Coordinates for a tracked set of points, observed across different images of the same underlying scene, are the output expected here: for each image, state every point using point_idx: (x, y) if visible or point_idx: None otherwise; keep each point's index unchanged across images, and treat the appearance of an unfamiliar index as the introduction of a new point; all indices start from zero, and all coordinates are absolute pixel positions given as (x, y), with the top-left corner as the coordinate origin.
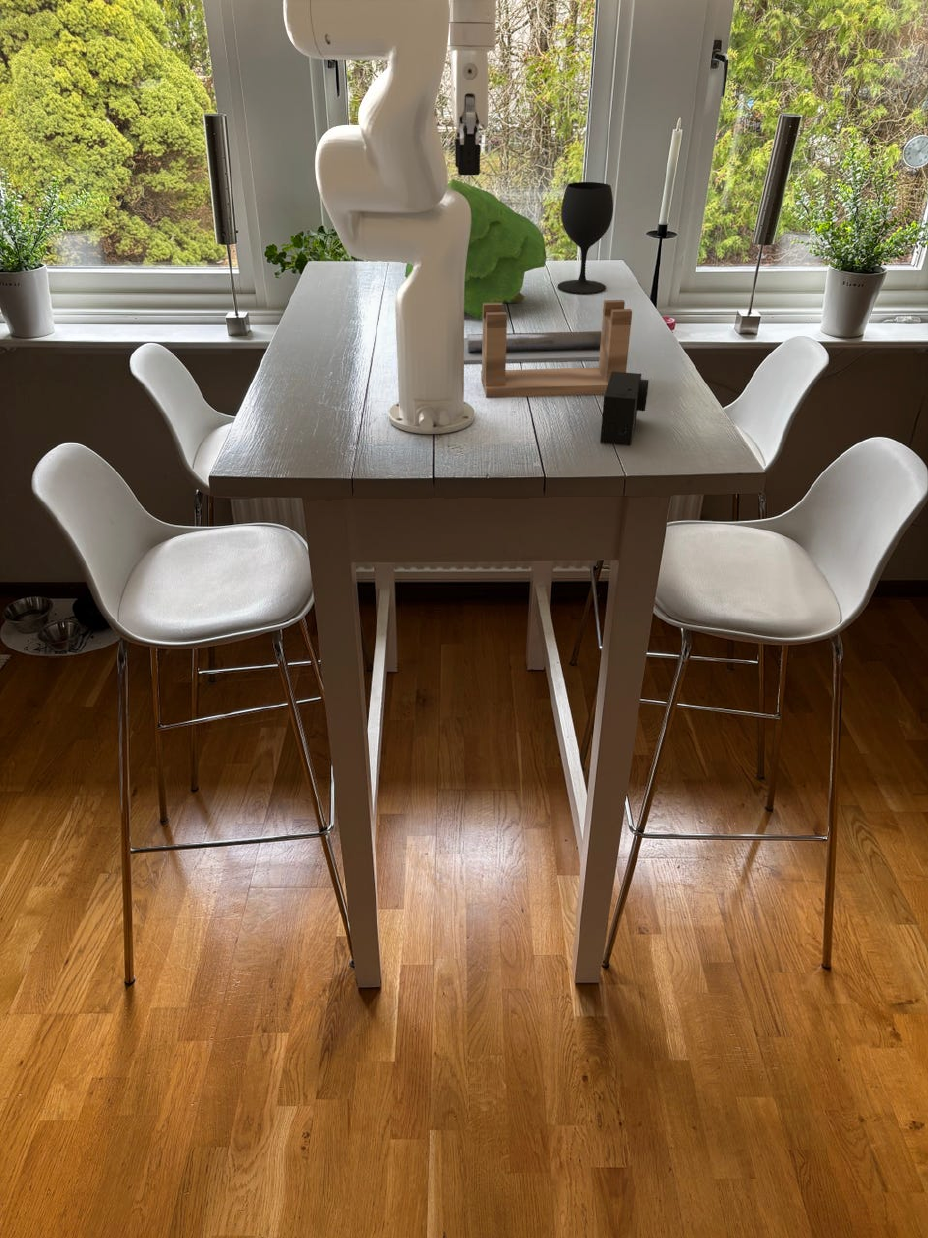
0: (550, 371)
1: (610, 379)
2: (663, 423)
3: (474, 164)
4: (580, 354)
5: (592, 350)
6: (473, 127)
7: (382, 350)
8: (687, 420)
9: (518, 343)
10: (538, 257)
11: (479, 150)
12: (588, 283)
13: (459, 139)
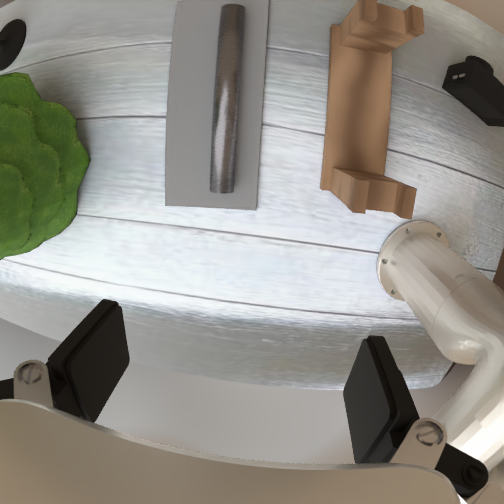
0: (339, 103)
1: (487, 98)
2: (459, 50)
3: (402, 376)
4: (255, 44)
5: None
6: (488, 482)
7: (194, 287)
8: (453, 27)
9: (237, 122)
10: (17, 82)
11: (408, 398)
12: (8, 36)
13: (85, 416)
